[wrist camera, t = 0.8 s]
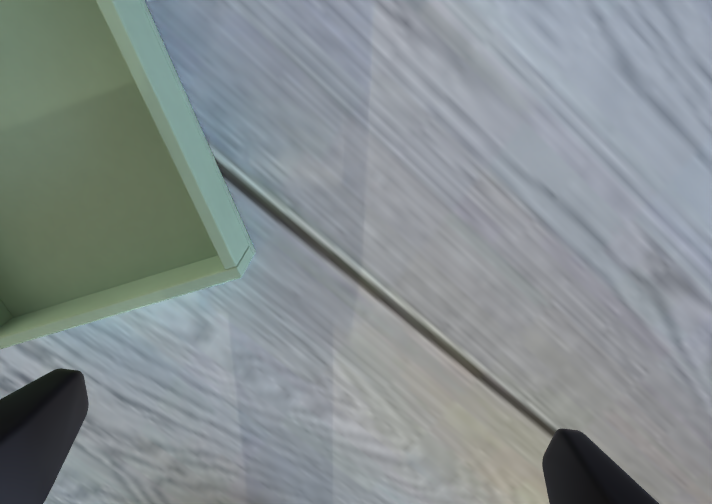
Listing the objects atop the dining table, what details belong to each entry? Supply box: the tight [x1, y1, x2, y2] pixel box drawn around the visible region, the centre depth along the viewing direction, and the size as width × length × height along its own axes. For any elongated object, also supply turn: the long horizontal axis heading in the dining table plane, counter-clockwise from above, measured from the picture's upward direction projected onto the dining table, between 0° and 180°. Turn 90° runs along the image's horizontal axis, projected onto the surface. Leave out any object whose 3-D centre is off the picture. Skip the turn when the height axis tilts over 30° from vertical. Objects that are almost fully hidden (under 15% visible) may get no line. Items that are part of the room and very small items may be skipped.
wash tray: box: [0, 0, 256, 349], centre depth 20 cm, size 16×14×3 cm
